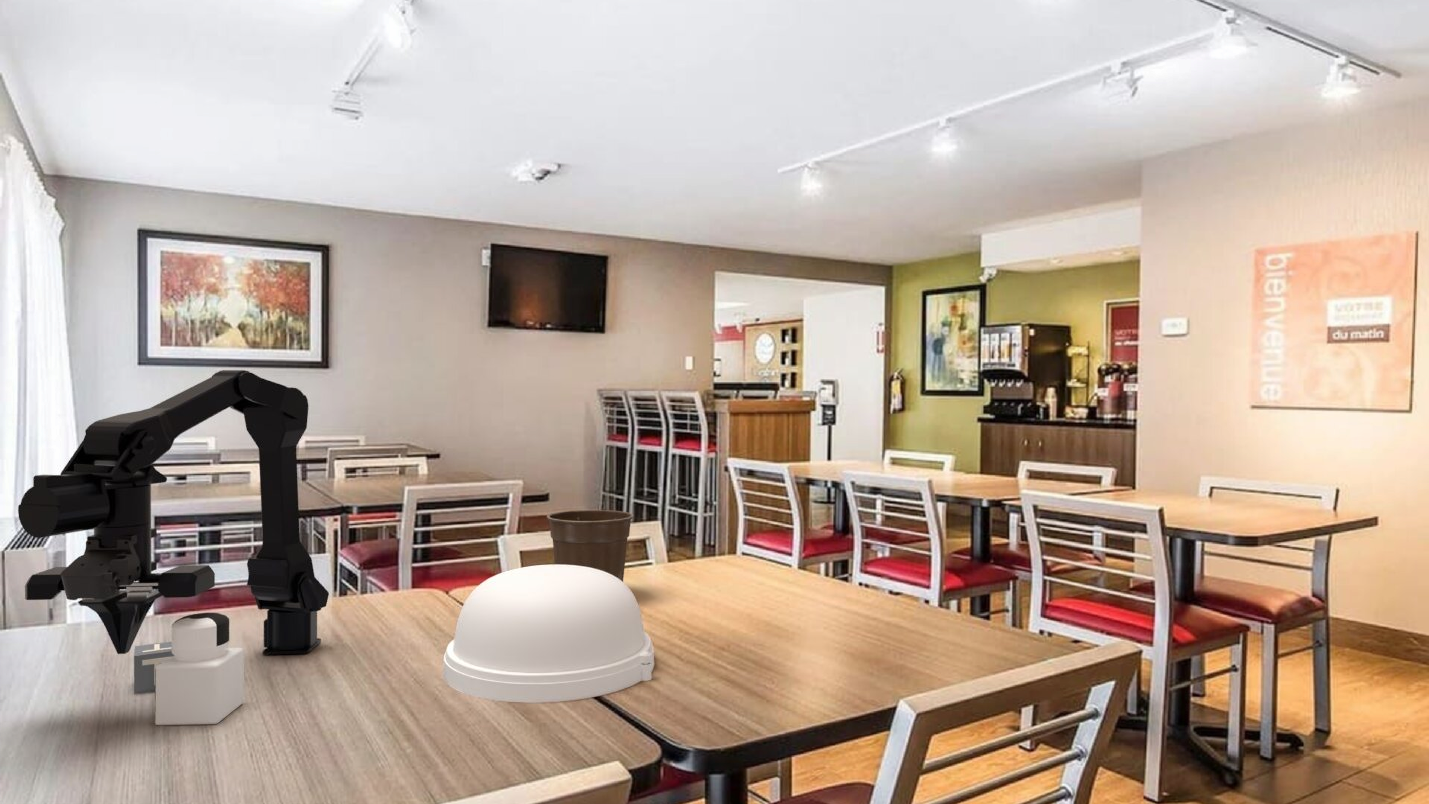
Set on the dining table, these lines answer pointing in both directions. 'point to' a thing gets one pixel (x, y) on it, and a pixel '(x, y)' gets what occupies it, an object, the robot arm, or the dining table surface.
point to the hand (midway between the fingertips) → (123, 653)
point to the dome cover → (548, 637)
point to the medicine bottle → (199, 673)
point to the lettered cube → (149, 664)
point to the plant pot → (591, 539)
